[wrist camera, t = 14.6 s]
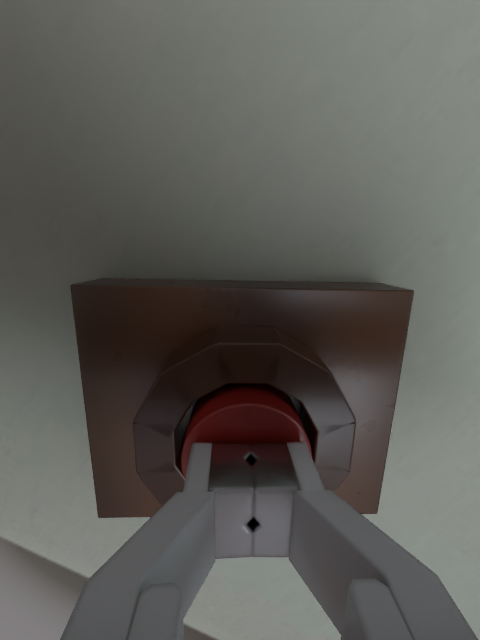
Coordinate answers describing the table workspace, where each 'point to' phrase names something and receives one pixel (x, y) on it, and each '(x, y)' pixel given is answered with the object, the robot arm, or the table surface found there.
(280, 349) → the button block
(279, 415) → the button
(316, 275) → the table surface
